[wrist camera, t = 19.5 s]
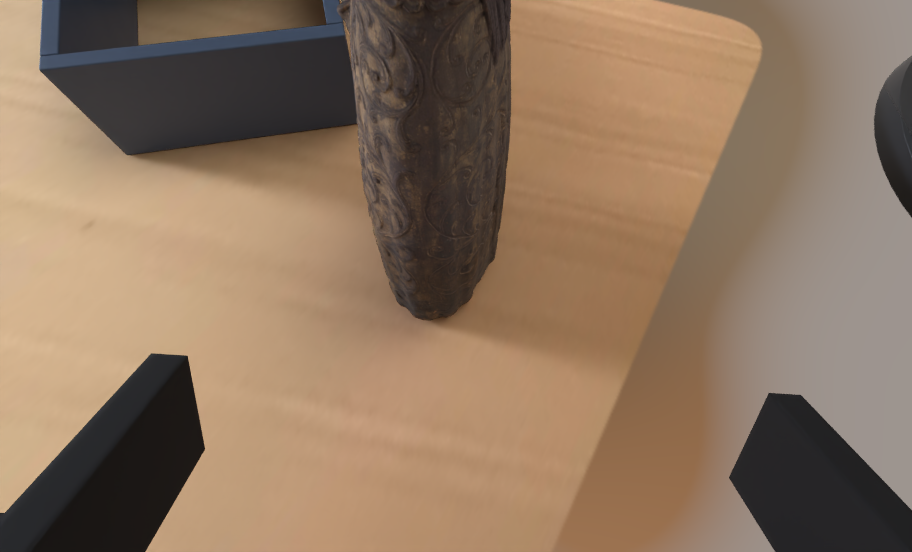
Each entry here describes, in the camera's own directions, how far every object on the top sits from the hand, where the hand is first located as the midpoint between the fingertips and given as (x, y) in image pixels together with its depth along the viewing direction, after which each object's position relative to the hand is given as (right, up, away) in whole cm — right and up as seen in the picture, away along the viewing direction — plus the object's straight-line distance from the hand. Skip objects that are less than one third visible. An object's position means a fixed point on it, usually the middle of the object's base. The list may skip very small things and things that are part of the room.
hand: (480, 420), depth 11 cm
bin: (-14, +17, +20) cm, 30 cm away
